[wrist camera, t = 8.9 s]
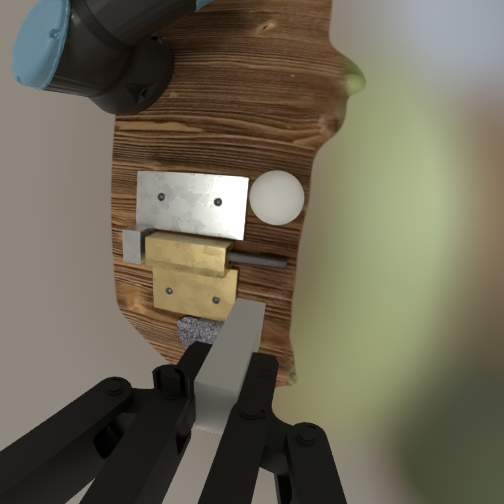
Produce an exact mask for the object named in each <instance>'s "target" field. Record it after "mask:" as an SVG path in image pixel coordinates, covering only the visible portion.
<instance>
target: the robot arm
mask: <svg viewBox="0 0 504 504" xmlns="http://www.w3.org/2000/svg"><path fill="white" fill-rule="evenodd" d="M213 1H215V0H39V1H38V2H37V3H36V4H35V5H34V7H33V8H32V9H31V10H30V12H29V13H28V15H27V16H26V18H25V20H24V21H23V23H22V25H21V27H20V29H19V32H18V34H17V37H16V40H15V43H14V46H13V51H12V58H11V66H12V73H13V75H14V78H15V79H16V81H17V82H18V83H20V84H22V85H25V86H30V87H34V88H35V89H38V90H47V91H54V92H61V93H67V94H73V95H79V96H84V97H88V98H89V99H90V100H92V101H93V102H94V103H95V104H96V105H97V106H99V107H100V108H101V109H102V110H104V111H106V112H108V113H111V114H116V115H122V116H127V115H133V114H136V113H139V112H141V111H143V110H144V109H146V108H148V107H149V106H150V105H152V104H153V103H154V102H155V101H156V100H157V99H158V98H159V97H160V95H161V94H162V93H163V91H164V90H165V88H166V87H167V85H168V83H169V81H170V78H171V75H172V72H173V66H174V57H173V52H172V49H171V47H170V45H169V44H168V43H167V41H165V40H164V39H163V38H162V37H160V36H159V35H158V34H156V33H155V32H157V31H158V30H160V29H162V28H163V27H165V26H167V25H169V24H171V23H172V22H174V21H176V20H178V19H180V18H182V17H184V16H185V15H187V14H189V13H191V12H193V11H194V12H197V11H198V10H199V9H200V8H201V7H203V6H205V5H207V4H209V3H211V2H213ZM265 304H266V303H262V302H257V301H251V300H245V299H240V298H237V299H236V301H235V303H234V305H233V307H232V309H231V311H230V313H229V315H228V317H227V318H226V320H225V322H224V324H223V326H222V328H221V330H220V332H219V334H218V336H217V338H216V340H215V342H214V344H209V343H204V342H200V341H196V342H194V343H193V344H191V345H189V346H188V348H187V349H186V351H185V353H184V355H183V356H182V357H181V359H180V360H179V362H178V364H177V365H171V364H168V365H162V366H160V367H157V368H155V369H154V370H153V371H152V373H153V381H154V388H153V389H138V388H132V387H131V384H130V383H129V382H128V381H127V380H126V379H124V378H121V377H110V378H106V379H104V380H103V381H101V382H100V383H98V384H97V385H95V386H94V387H93V388H91V389H90V390H88V391H87V392H85V393H84V394H83V395H81V396H80V397H78V398H77V399H76V400H74V401H73V402H71V403H70V404H68V405H67V406H66V407H64V408H63V409H62V410H60V411H59V412H57V413H56V414H54V415H53V416H51V417H50V418H48V419H47V420H46V421H44V422H43V423H41V424H40V425H38V426H37V427H35V428H34V429H33V430H31V431H30V432H29V433H27V434H26V435H24V436H22V437H21V438H19V439H18V440H17V441H15V442H14V443H12V444H11V445H9V446H8V447H6V448H5V449H3V450H2V451H0V504H65V503H66V502H67V501H69V500H70V499H71V498H72V497H73V496H74V495H76V494H77V493H78V492H79V491H80V490H82V489H83V488H84V487H85V486H86V485H87V484H89V483H90V482H91V481H92V480H93V479H94V478H95V477H96V478H95V480H94V481H93V483H92V484H91V486H90V487H89V489H88V491H87V492H86V494H85V495H84V497H83V498H82V500H81V501H80V503H79V504H162V502H163V499H164V497H165V495H166V493H167V491H168V488H169V486H170V484H171V482H172V479H173V477H174V475H175V473H176V471H177V468H178V466H179V464H180V461H181V459H182V457H183V455H184V453H185V450H186V448H187V446H188V443H189V441H190V439H191V428H192V427H193V424H194V422H195V428H198V429H202V430H205V431H209V432H213V433H217V434H221V435H222V438H221V440H220V443H219V446H218V449H217V452H216V455H215V457H214V460H213V463H212V466H211V469H210V471H209V474H208V477H207V480H206V482H205V485H204V488H203V490H202V493H201V496H200V498H199V501H198V504H251V501H252V497H253V492H254V489H255V484H256V480H257V475H258V471H259V467H261V468H263V469H266V470H268V471H270V472H272V473H274V479H275V486H276V494H277V501H278V504H347V502H346V499H345V495H344V492H343V489H342V486H341V482H340V479H339V475H338V472H337V469H336V465H335V462H334V459H333V455H332V452H331V449H330V445H329V442H328V439H327V436H326V434H325V432H324V430H323V429H322V428H320V427H319V426H318V425H315V424H313V423H307V422H303V423H297V424H295V425H294V426H292V425H289V424H287V423H284V422H283V421H281V420H279V419H278V418H277V417H276V416H275V415H274V413H273V411H272V400H273V394H274V389H275V383H276V378H277V372H278V366H279V363H278V361H277V359H276V356H273V355H267V354H261V353H257V352H258V348H259V344H260V338H261V331H262V325H263V318H264V311H265Z"/></svg>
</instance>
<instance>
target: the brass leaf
mask: <svg viewBox="0 0 504 504" xmlns="http://www.w3.org/2000/svg"><path fill="white" fill-rule="evenodd" d="M234 241H235V240H233V239H225V238H218V237H211V236H203V235H196V234H188V233H180V232H173V231H165V230H160V231H157V232H155V233H153V234H151V235H149V236H147V237H145V249H146V266H151V267H153V292H154V307H157V308H161V309H166V310H170V311H174V312H179V313H183V314H188V315H193V316H197V317H202V318H207V319H212V320H217V321H222V322H225V320H226V318H227V317H228V315H229V313H230V311H231V309H232V307H233V305H234V303H235V301H236V299H237V287H238V274H239V268H232V267H233V262H231V261H229V254H230V251H231V250H232V249H233V248H234Z"/></svg>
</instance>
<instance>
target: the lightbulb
mask: <svg viewBox="0 0 504 504" xmlns="http://www.w3.org/2000/svg"><path fill="white" fill-rule="evenodd" d="M303 204H304V191H303V188H302V186H301V184H300V182H299V181H298V180H297V179H296V178H295V177H294V176H293V175H291V174H289V173H287V172H284V171H277V170H275V171H269V172H266V173H264V174H262V175H261V176H259V177H258V178H257V179H256V180H255V182H254V183H253V185H252V187H251V190H250V205H251V208H252V210H253V212H254V213H255V215H256V216H257V217H258V218H259V219H261V220H262V221H264V222H266V223H268V224H272V225H282V224H286V223H289V222H291V221H292V220H294V219H295V218H296V217H297V216H298V215H299V213H300V212H301V210H302V208H303Z"/></svg>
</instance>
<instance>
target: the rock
mask: <svg viewBox="0 0 504 504" xmlns="http://www.w3.org/2000/svg"><path fill="white" fill-rule="evenodd" d="M223 324H224V322H222V321H217V320H212V319H207V318H201V319H198V318H196V317H194V316H188V317H185V318H183V319H182V320H179V321H177V326H178V329H177V330H178V335H179V337H180V339H181V341H182V343H183V346H184V348H185V350H186V349H187V348H188V346H189V345H191V344H193V343H194V342H196V341H200V342H204V343H209V344H214V342H215V340H216V338H217V336H218V334H219V332H220V330H221V328H222V326H223Z"/></svg>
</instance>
